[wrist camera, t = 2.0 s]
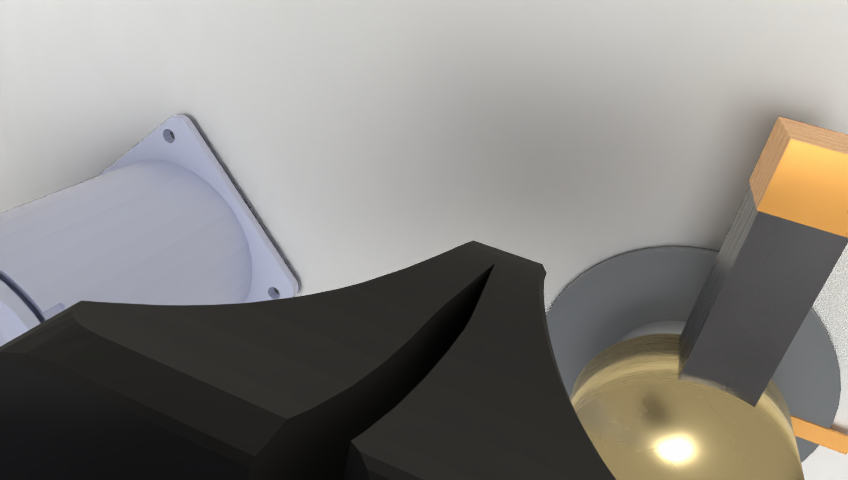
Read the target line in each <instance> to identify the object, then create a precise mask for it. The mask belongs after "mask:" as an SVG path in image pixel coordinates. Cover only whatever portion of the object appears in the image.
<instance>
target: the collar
mask: <svg viewBox="0 0 848 480" xmlns="http://www.w3.org/2000/svg"><path fill="white" fill-rule="evenodd" d="M749 182H750V186H749V188H748V190H747V192H746V194H745V197H744V199H743V201H742V203H741V205H740V207H739V210H738V212H737V214H736V216H735V218H734V220H733V223H732V225H731V227H730V229H729V231H728V233H727V236H726V238H725V240H724V242H723V244H722V246H721V249H720V251H719V253H718V255H717V257H716V259H715V262H714V264H713V266H712V268H711V270H710V272H709V275H708V277H707V279H706V281H705V283H704V285H703V288H702V290H701V292H700V294H699V296H698V298H697V300H696V303H695V305H694V307H693V309H692V311H691V313H690V316H689V318H688V320H687V322H686V324H685V326H684V329H683V331H682V333H681V334H671V333H665V334H650V335H643V336H638V337H634V338H630V339H626V340H624V341H621V342H619V343H616V344H614V345H612V346H610V347H609V348H607V349H605V350H603V351H602V352H600V353H599V354H598V355H597V356H595V357H594V358H593V359H592V360H591V361H590V362H589V363H588V364H587V365H586V366H585V367H584V369H583V370H582V371H581V373H580V374H579V376H578V378H577V380H576V382H575V384H574V387H573V390H572V394H571V397H570V400H571V403H572V405H573V407H574V409H575V411H576V413H577V415H578V418H579V420H580V422H581V424H582V426H583V428H584V429H585V431H586V433H587V435H588V436H589V438H590V440H591V441H592V443H593V445H594V446H595V448H596V450H597V452H598V453H599V455H600V457H601V458H602V460H603V461H604V463H605V464H606V466H607V467H608V469H609V470H610V471H611V473H612V474H613V476H614V477H615V478H616V480H804V475H803V471H802V466H801V461H800V457H799V452H798V448H797V443H796V439H795V434H794V429H793V425H792V420H791V416H790V412H789V408H788V406H787V404H786V402H785V399H784V397H783V395H782V394H781V392H780V390H779V389H778V387H777V386H776V384H775V383H774V382H773V381H772V380H771V378H772V376H773V374H774V372H775V371H776V369H777V367H778V365H779V364H780V362H781V360H782V358H783V356H784V355H785V353H786V351H787V349H788V348H789V346H790V344H791V342H792V340H793V339H794V337H795V335H796V333H797V332H798V330H799V328H800V326H801V324H802V323H803V321H804V319H805V317H806V316H807V314H808V312H809V310H810V309H811V307H812V305H813V303H814V301H815V300H816V298H817V296H818V294H819V293H820V291H821V289H822V287H823V285H824V284H825V282H826V280H827V278H828V277H829V275H830V273H831V271H832V270H833V268H834V266H835V264H836V262H837V261H838V259H839V257H840V255H841V254H842V252H843V250H844V248H845V246H846V245H847V243H848V135H847V134H843V133H839V132H836V131H832V130H828V129H824V128H820V127H817V126H813V125H809V124H805V123H802V122H798V121H794V120H790V119H787V118H783V117H779V116H778V119H777V121H776V123H775V125H774V127H773V129H772V132H771V134H770V136H769V138H768V140H767V142H766V145H765V147H764V149H763V151H762V153H761V156H760V158H759V160H758V162H757V164H756V166H755V169H754V171H753V173H752V175H751V177H750V179H749Z"/></svg>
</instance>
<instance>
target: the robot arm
mask: <svg viewBox="0 0 848 480" xmlns="http://www.w3.org/2000/svg"><path fill="white" fill-rule="evenodd" d="M170 130H171V131H172V132H173V134H174V136H175V140H174V139H173V138H172V136H171V134H170ZM545 276H546V271H545V269H544V267H543V265H542V264H540V263H537V262H534V261H531V260H528V259H525V258H522V257H519V256H516V255H514V254H511V253H508V252H505V251H502V250H499V249H496V248H493V247H490V246H487V245H485V244H482V243H479V242H476V241H471V242H468V243H465V244H463V245H461V246H458V247H456V248H454V249H452V250H449V251H447V252H445V253H442V254H440V255H438V256H435V257H433V258H430V259H428V260H425V261H423V262H420V263H418V264H415V265H413V266H410V267H408V268H405V269H402V270H399V271H396V272H393V273H390V274H387V275H384V276H381V277H378V278H375V279H372V280H369V281H366V282H363V283H359V284H356V285H352V286H348V287H344V288H340V289H336V290H331V291H326V292H321V293H316V294H311V295H306V296H300V297H293V296H294V295H296V294H297V292H298V290H299V287H298V283H297V281H296V279H295V278H294V276H293V275H292V273H291V272H290V270H289V268H288V267H287V265H286V264H285V262H284V261H283V259H282V258H281V256H280V255H279V253H278V252H277V250H276V249H275V247H274V246H273V244H272V243H271V241H270V240H269V238H268V237H267V235H266V234H265V232H264V231H263V229H262V228H261V226H260V224H259V223H258V221H257V220H256V218H255V217H254V215H253V214H252V212H251V211H250V209H249V208H248V206H247V205H246V203H245V202H244V200H243V199H242V197H241V196H240V194H239V193H238V191H237V190H236V188H235V187H234V185H233V184H232V182H231V180H230V179H229V177H228V176H227V174H226V173H225V171H224V170H223V168H222V167H221V165H220V164H219V162H218V161H217V159H216V158H215V156H214V155H213V153H212V152H211V150H210V149H209V147H208V146H207V144H206V143H205V141H204V140H203V138H202V136H201V135H200V133H199V132H198V130H197V129H196V127H195V126H194V124H193V123H192V121H191V120H190V119H189V118H188V117H187V116H185V115H182V114H178V115H175V116H172V117H170V118H169V119H167V120H166V121H165V122H164V123H163V124H161V125H160V126H159V127H158V128H156V129H155V130H154V131H153V132H151V133H150V134H149V135H148V136H146V137H145V138H144V139H143V140H142V141H140V142H139V143H138V144H137V145H135V146H134V147H133V148H132V149H130V150H129V151H128V152H127V153H126V154H124V155H123V156H122V157H121V158H119V159H118V160H117V161H116V162H114V163H113V164H112V165H111V166H110V167H108V168H107V169H106V170H105V171H103V172H102V173H101V174H100V175H98V176H97V177H95V178H92V179H90V180H87V181H85V182H82V183H79V184H77V185H74V186H71V187H69V188H66V189H63V190H61V191H58V192H55V193H53V194H50V195H47V196H45V197H42V198H39V199H37V200H34V201H32V202H29V203H26V204H24V205H21V206H18V207H16V208H13V209H10V210H8V211H5V212H2V213H0V480H616V478H615V477H614V476H613V474H612V473H611V471H610V470H609V469H608V467H607V466H606V464H605V463H604V461H603V460H602V458H601V457H600V455H599V453H598V452H597V450H596V448H595V446H594V445H593V443H592V441H591V440H590V438H589V436H588V435H587V433H586V431H585V429H584V428H583V426H582V424H581V422H580V420H579V418H578V415H577V413H576V411H575V409H574V407H573V405H572V403H571V400H570V398H569V395H568V393H567V391H566V388H565V386H564V383H563V380H562V378H561V375H560V372H559V369H558V366H557V362H556V359H555V355H554V352H553V348H552V344H551V340H550V336H549V331H548V325H547V319H546V314H545V306H544V279H545ZM274 288H276V289H277V290H278V291H279V293H280V295H279V294H277V293H276V292H275V290H274Z"/></svg>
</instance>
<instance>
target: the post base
mask: <svg viewBox="0 0 848 480" xmlns="http://www.w3.org/2000/svg"><path fill="white" fill-rule="evenodd" d="M718 253H719V252H717V251H713V250H708V249H701V248H694V247H674V246H667V247H656V248H646V249H642V250H637V251H632V252H628V253H625V254H622V255H619V256H616V257H613V258H610V259H608V260H606V261H604V262H602V263H600V264H597V265H595V266H594V267H592V268H590V269H589V270H587V271H586V272H584V273H583V274H581V275H580V276H579V277H577V278H576V279H575V280H574V281H573V282H572V283H571V284H569V285H568V286H567V287H566V288H565V290H564V291H563V292H562V293H561V294H560V295H559V297H558V298H557V299H556V301H555V302H554V304H553V305H552V307H551V309H550V310H549V312H548V314H547V317H546V319H547V325H548V331H549V336H550V340H551V344H552V348H553V352H554V355H555V359H556V362H557V366H558V369H559V372H560V375H561V378H562V380H563V383H564V386H565V388H566V391H567V393H568V395H569V398H570V397H571V394H572V390H573V387H574V384H575V382H576V380H577V378H578V376H579V374H580V373H581V371H582V370H583V369H584V367H585V366H586V365H587V364H588V363H589V362H590V361H591V360H592V359H593V358H594V357H595V356H597V355H598V354H599V353H600V352H602V351H603V350H605V349H607V348H609V347H610V346H612V345H614V344H616V343H619V342H621V341H624V340H626V339H630V338H634V337H638V336H643V335H650V334H665V333H671V334H681V333H682V331H683V329H684V326H685V324H686V322H687V320H688V318H689V316H690V313H691V311H692V309H693V307H694V305H695V303H696V300H697V298H698V296H699V294H700V292H701V290H702V288H703V285H704V283H705V281H706V279H707V277H708V275H709V272H710V270H711V268H712V266H713V264H714V262H715V259H716V257H717V255H718ZM771 380H772V381H773V382H774V383H775V384H776V386H777V387H778V389H779V390H780V392H781V394H782V395H783V397H784V399H785V402H786V404H787V406H788V408H789V412H790V416H791V420H792V425H793V429H794V434H795V439H796V443H797V448H798V452H799V457H800V461H801V462H803V461H804V460H805V459H806V458H807V457H808V456H809V455H810V454H811V453H812V452H813V451H814V450H815V449H816V448H817V447H818V445H822V446H824V447H827V448H830V449H832V450H835V451H838V452H840V453H843V454H847V452H848V435H846V434H843V433H840V432H837V431H835V430H832V429H830V427H831V425H832V423H833V421H834V418H835V415H836V412H837V409H838V406H839V399H840V391H841V382H840V369H839V365H838V360H837V356H836V353H835V350H834V347H833V345H832V342H831V340H830V337H829V335H828V332H827V330H826V328H825V327H824V325H823V324H822V322H821V320H820V319H819V317H818V315H817V314H816V313H815V311H814V310H813V309H812V308H811V309H810V310H809V312H808V314H807V316H806V317H805V319H804V321H803V323H802V324H801V326H800V328H799V330H798V332H797V333H796V335H795V337H794V339H793V340H792V342H791V344H790V346H789V348H788V349H787V351H786V353H785V355H784V356H783V358H782V360H781V362H780V364H779V365H778V367H777V369H776V371H775V372H774V374H773V376H772V378H771Z"/></svg>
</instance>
